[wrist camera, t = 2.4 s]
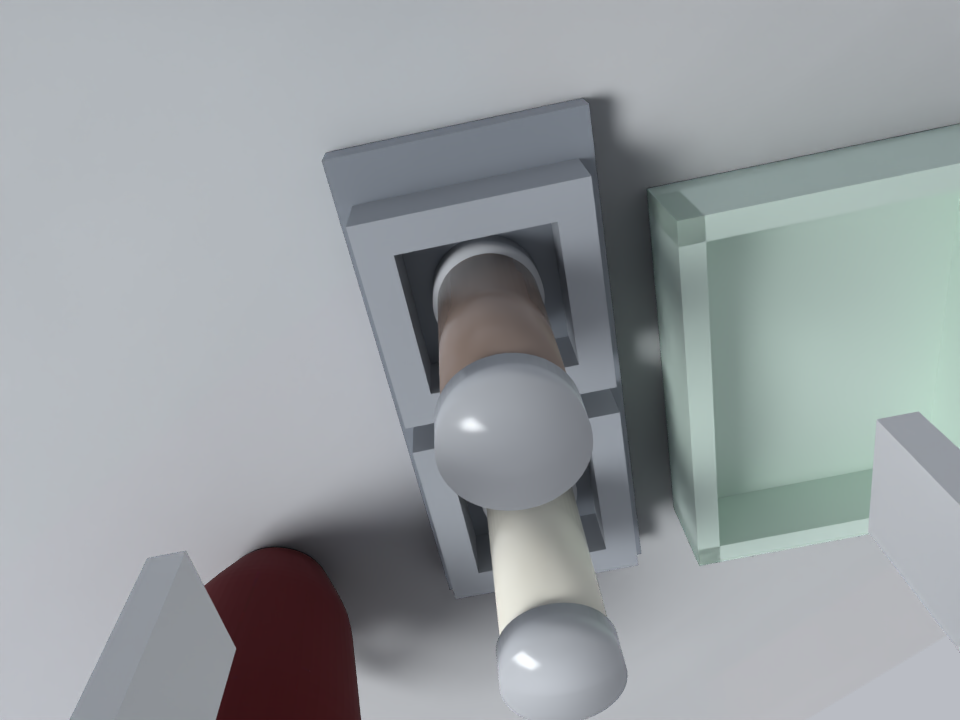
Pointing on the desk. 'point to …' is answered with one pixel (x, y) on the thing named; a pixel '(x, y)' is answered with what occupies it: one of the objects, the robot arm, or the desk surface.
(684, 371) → the tray
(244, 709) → the mug
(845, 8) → the desk surface
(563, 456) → the fuse
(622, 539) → the block
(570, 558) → the fuse
